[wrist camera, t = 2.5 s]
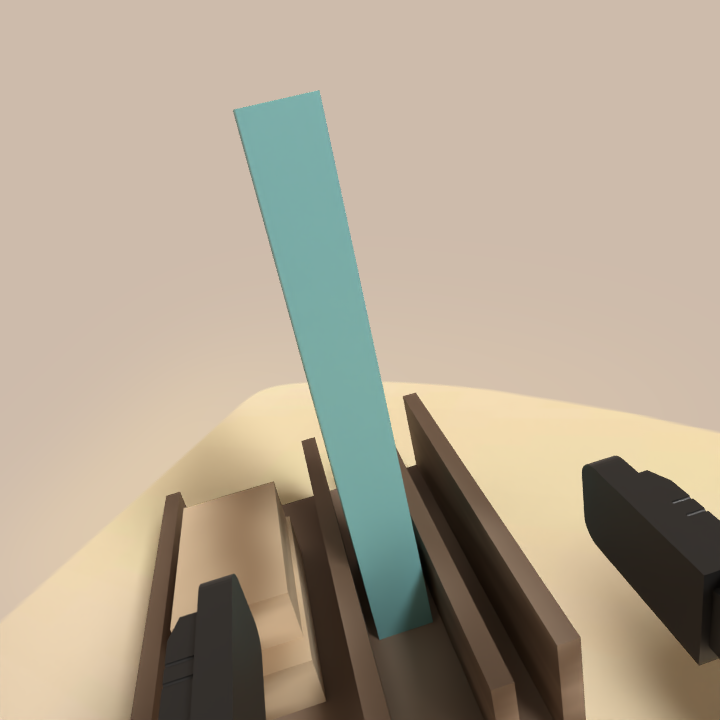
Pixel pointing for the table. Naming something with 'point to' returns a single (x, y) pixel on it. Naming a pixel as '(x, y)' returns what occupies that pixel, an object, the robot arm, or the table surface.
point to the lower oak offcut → (294, 656)
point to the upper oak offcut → (241, 559)
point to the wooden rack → (446, 599)
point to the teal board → (336, 346)
